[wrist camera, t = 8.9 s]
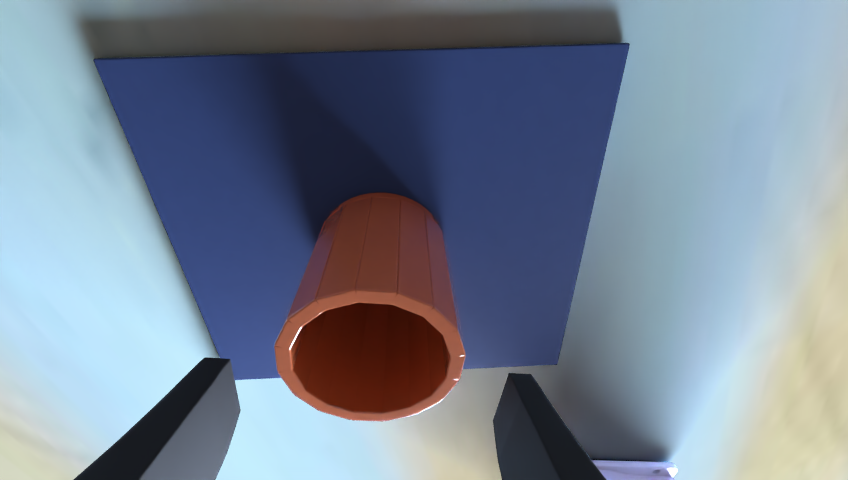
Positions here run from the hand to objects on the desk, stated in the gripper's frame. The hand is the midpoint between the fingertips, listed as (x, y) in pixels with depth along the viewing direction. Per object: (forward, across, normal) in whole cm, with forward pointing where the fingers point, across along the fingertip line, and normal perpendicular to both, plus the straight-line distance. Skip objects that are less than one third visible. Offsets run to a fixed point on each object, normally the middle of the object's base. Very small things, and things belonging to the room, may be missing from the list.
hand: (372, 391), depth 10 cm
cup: (+7, 0, 0) cm, 7 cm away
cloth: (+7, 0, 0) cm, 7 cm away
